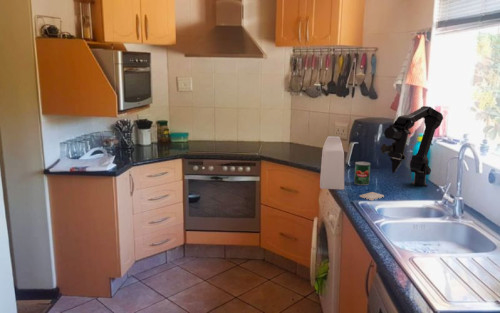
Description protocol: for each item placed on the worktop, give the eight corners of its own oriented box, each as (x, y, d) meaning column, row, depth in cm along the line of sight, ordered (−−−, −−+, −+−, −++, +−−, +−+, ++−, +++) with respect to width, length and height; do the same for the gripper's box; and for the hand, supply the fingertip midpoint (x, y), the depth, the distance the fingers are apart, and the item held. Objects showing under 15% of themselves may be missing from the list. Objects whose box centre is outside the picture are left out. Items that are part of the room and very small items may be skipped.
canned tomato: (358, 185, 233) (359, 165, 230) (351, 181, 240) (352, 162, 238) (372, 184, 235) (373, 164, 233) (364, 180, 242) (365, 161, 240)
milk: (320, 188, 227) (321, 138, 222) (319, 182, 238) (321, 134, 233) (344, 189, 226) (346, 138, 220) (342, 183, 237) (344, 135, 231)
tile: (372, 191, 218) (359, 195, 213) (384, 195, 212) (371, 198, 207) (372, 194, 218) (359, 198, 213) (383, 198, 212) (371, 201, 207)
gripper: (386, 140, 231) (380, 169, 232) (380, 137, 214) (373, 168, 215) (408, 144, 226) (402, 174, 227) (404, 141, 209) (396, 174, 210)
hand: (393, 172), depth 220 cm, fingers closed
